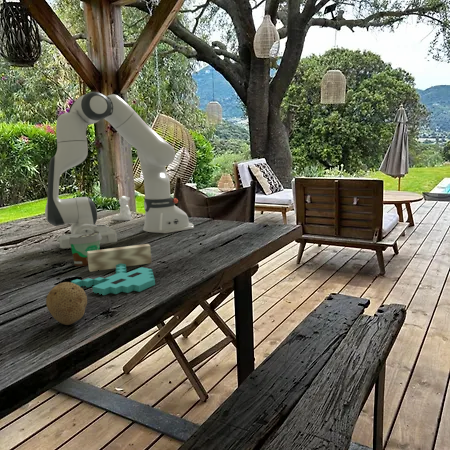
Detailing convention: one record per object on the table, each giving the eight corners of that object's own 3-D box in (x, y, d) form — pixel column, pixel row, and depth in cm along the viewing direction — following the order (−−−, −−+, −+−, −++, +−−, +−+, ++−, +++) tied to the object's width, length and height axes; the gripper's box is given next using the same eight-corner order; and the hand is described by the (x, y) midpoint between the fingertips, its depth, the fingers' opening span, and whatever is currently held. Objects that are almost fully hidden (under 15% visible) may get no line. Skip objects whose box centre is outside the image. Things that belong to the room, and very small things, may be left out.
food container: (84, 269, 147) (82, 239, 145) (71, 267, 150) (68, 237, 148) (111, 259, 158) (108, 231, 156) (97, 257, 161) (95, 229, 158)
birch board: (149, 260, 155) (148, 243, 154) (151, 263, 152) (150, 245, 151) (88, 269, 147) (87, 251, 146) (90, 271, 144) (88, 253, 143)
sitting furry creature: (128, 217, 232) (127, 193, 230) (137, 219, 226) (136, 195, 224) (112, 219, 226) (110, 196, 224) (121, 222, 220) (119, 197, 217)
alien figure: (71, 288, 131) (122, 301, 121) (70, 281, 130) (121, 293, 120) (121, 269, 147) (169, 279, 137) (120, 263, 147) (169, 272, 137)
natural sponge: (59, 314, 111) (55, 276, 109) (95, 315, 111) (91, 276, 108) (42, 331, 103) (37, 289, 100) (80, 332, 102) (76, 289, 100)
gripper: (55, 230, 167) (59, 238, 155) (112, 224, 175) (119, 231, 163) (57, 247, 168) (61, 256, 156) (113, 240, 177) (120, 248, 164)
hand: (91, 243), depth 160 cm, fingers closed
